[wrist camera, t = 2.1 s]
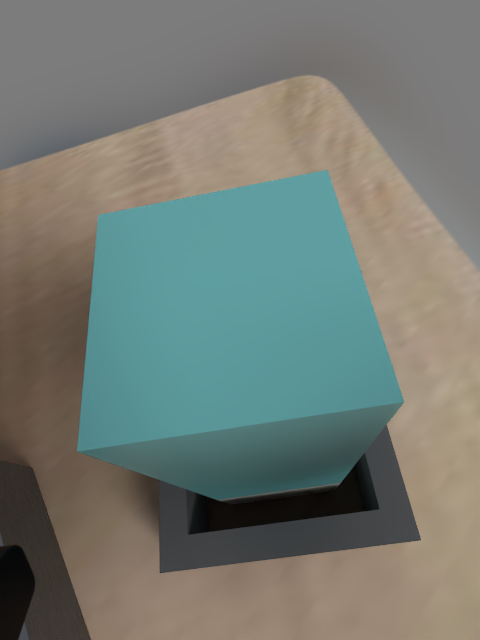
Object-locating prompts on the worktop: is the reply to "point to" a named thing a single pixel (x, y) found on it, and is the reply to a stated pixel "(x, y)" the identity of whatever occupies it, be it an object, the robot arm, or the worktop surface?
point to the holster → (294, 536)
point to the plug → (234, 344)
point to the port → (38, 558)
